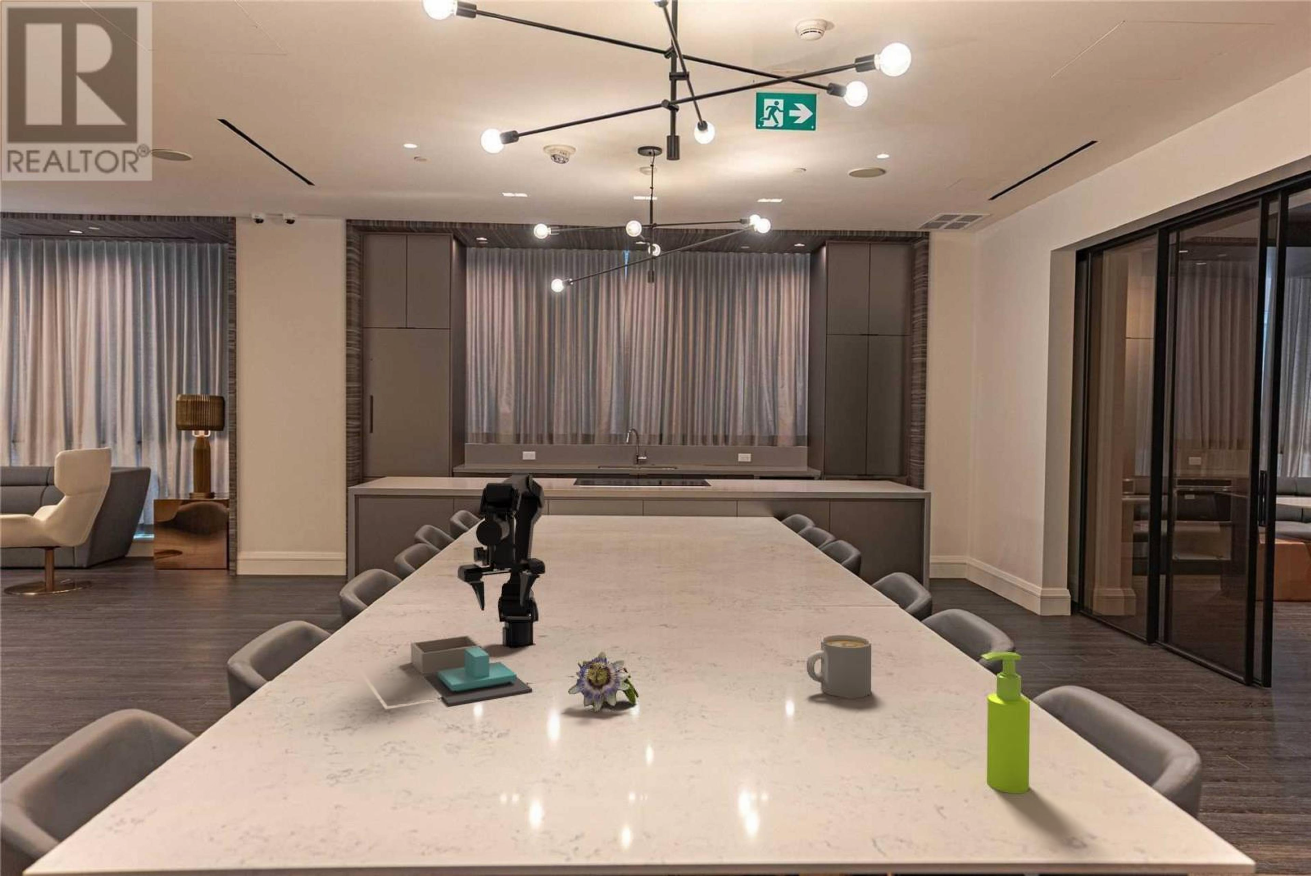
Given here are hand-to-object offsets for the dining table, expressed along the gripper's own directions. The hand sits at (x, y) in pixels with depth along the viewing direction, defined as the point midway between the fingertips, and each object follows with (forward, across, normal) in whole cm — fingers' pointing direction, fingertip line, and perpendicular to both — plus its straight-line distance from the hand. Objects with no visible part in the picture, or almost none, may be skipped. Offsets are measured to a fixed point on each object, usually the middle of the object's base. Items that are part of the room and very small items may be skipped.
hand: (502, 607), depth 188 cm
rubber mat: (+12, +10, +12) cm, 20 cm away
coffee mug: (+13, -53, +51) cm, 75 cm away
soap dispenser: (+12, -46, +97) cm, 108 cm away
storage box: (+13, +12, -4) cm, 18 cm away
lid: (+12, +10, +12) cm, 19 cm away
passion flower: (+12, -8, +35) cm, 38 cm away
